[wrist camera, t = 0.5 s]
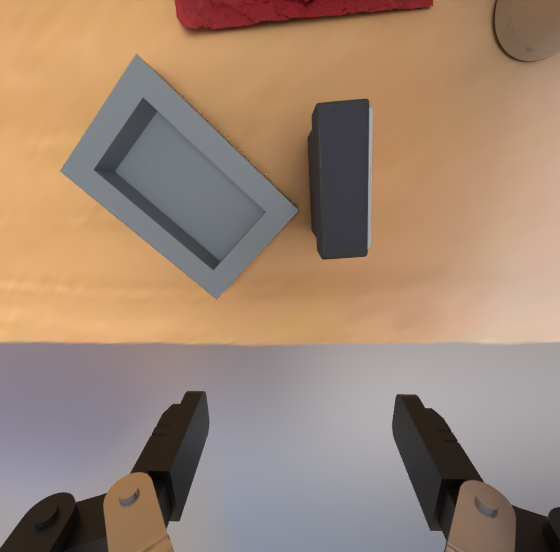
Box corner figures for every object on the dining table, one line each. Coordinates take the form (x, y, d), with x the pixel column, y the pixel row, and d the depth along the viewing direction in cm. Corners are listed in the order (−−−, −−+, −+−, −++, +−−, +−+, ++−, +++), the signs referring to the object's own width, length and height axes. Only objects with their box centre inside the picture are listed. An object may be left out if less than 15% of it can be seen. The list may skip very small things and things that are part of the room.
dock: (158, 73, 32) (136, 54, 27) (296, 207, 36) (298, 210, 31) (90, 173, 35) (59, 171, 30) (224, 285, 39) (216, 299, 34)
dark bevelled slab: (341, 229, 37) (378, 257, 22) (307, 231, 37) (322, 261, 22) (339, 134, 33) (381, 95, 19) (302, 137, 34) (316, 101, 19)
